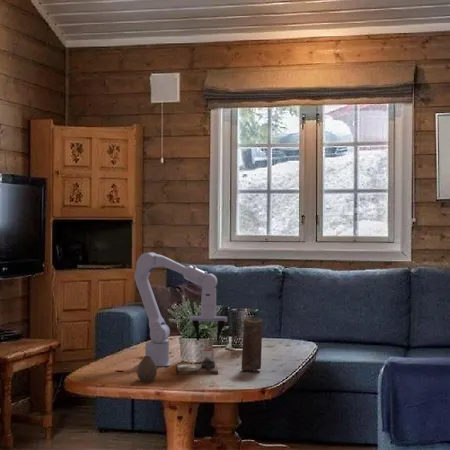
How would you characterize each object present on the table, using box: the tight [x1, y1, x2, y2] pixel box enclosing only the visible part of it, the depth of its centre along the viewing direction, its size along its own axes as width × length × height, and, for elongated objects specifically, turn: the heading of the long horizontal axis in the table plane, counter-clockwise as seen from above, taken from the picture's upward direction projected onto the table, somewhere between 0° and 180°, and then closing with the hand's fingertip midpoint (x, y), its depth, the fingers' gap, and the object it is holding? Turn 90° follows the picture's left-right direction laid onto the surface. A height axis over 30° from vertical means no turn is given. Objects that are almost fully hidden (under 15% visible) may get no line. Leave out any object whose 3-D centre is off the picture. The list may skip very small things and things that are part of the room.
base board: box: [177, 361, 219, 375], centre depth 342 cm, size 15×14×3 cm
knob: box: [201, 349, 215, 363], centre depth 342 cm, size 5×5×5 cm
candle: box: [241, 317, 264, 372], centre depth 343 cm, size 8×7×20 cm
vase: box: [136, 355, 158, 383], centre depth 320 cm, size 7×7×9 cm
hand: (207, 340), depth 350 cm, fingers open, 7 cm apart
